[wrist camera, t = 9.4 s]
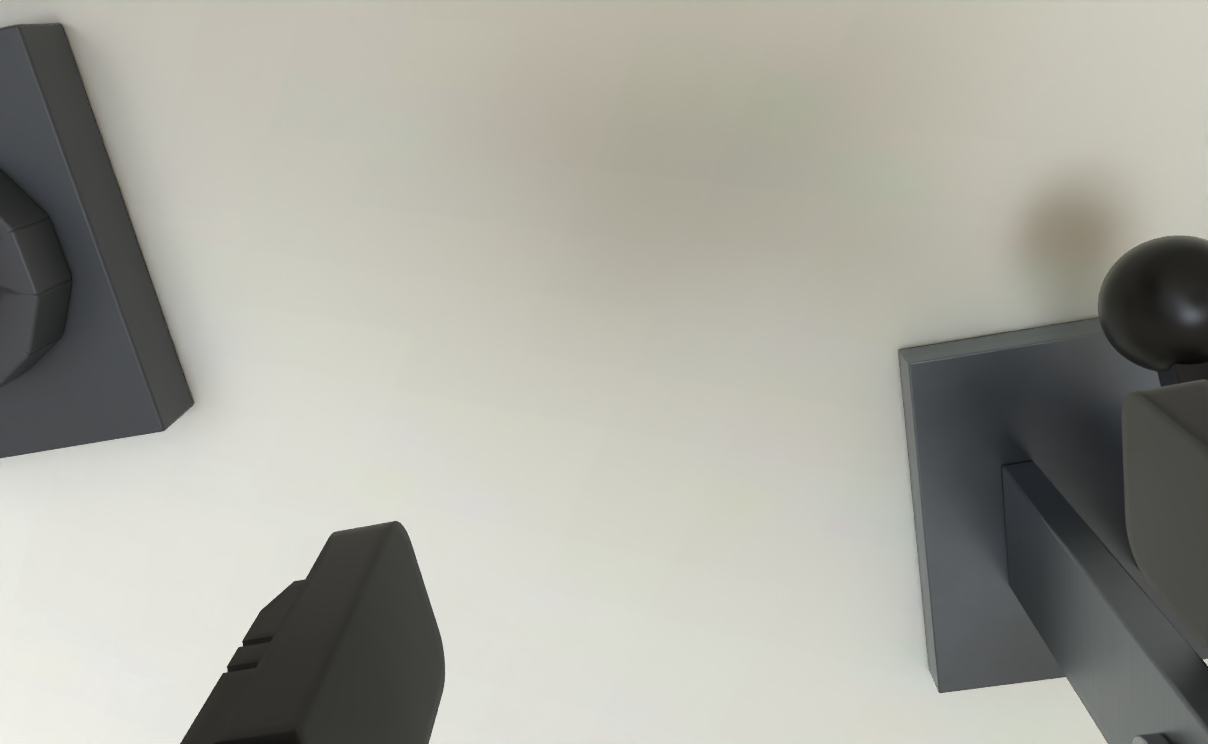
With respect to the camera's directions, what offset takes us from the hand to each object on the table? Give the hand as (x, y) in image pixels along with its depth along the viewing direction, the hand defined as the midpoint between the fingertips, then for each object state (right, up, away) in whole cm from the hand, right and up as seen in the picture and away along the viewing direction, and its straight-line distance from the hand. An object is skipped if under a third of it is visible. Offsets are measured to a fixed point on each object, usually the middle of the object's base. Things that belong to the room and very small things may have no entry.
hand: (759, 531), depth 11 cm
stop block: (-21, +6, +20) cm, 29 cm away
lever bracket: (+13, -2, +22) cm, 26 cm away
